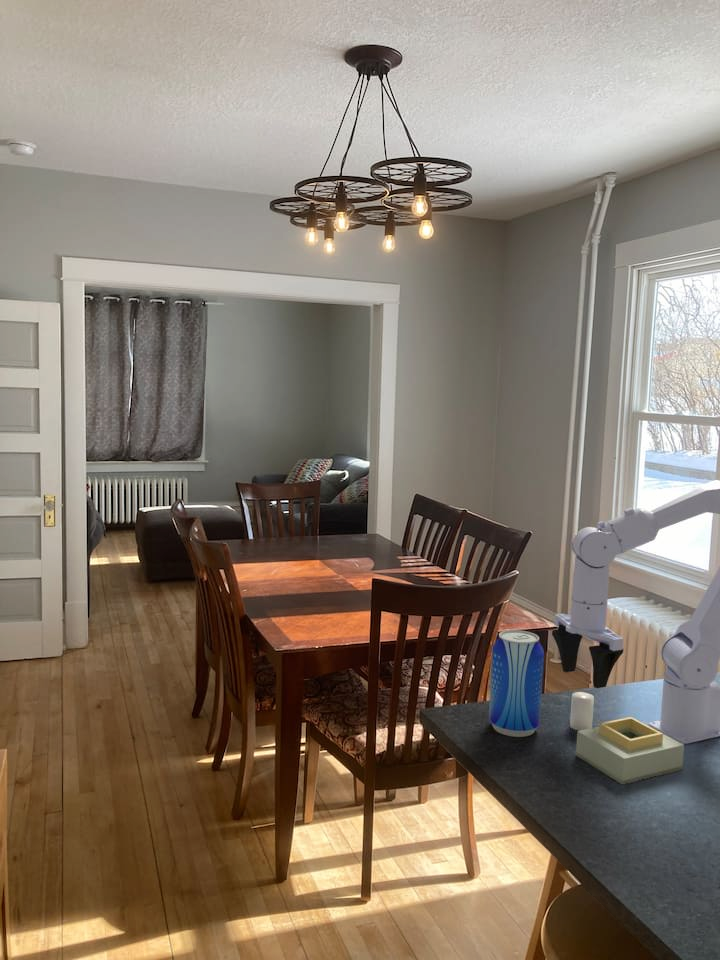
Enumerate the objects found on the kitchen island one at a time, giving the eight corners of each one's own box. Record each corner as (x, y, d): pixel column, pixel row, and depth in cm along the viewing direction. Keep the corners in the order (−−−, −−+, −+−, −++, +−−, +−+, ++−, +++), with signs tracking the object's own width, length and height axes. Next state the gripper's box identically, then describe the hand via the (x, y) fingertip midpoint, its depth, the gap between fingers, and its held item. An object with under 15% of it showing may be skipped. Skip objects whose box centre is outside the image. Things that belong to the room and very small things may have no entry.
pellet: (581, 721, 139) (584, 690, 138) (596, 729, 135) (598, 698, 135) (565, 724, 137) (567, 693, 136) (579, 733, 134) (581, 701, 133)
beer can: (539, 741, 130) (545, 646, 128) (487, 735, 132) (492, 641, 130) (538, 720, 138) (544, 630, 136) (489, 715, 140) (494, 626, 138)
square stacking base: (633, 742, 131) (635, 710, 130) (682, 769, 122) (685, 735, 121) (575, 755, 126) (578, 721, 125) (622, 784, 117) (624, 748, 116)
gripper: (542, 591, 138) (537, 667, 140) (601, 614, 125) (595, 697, 127) (574, 588, 141) (569, 662, 143) (635, 610, 128) (629, 691, 130)
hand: (583, 678), depth 135 cm, fingers open, 7 cm apart
